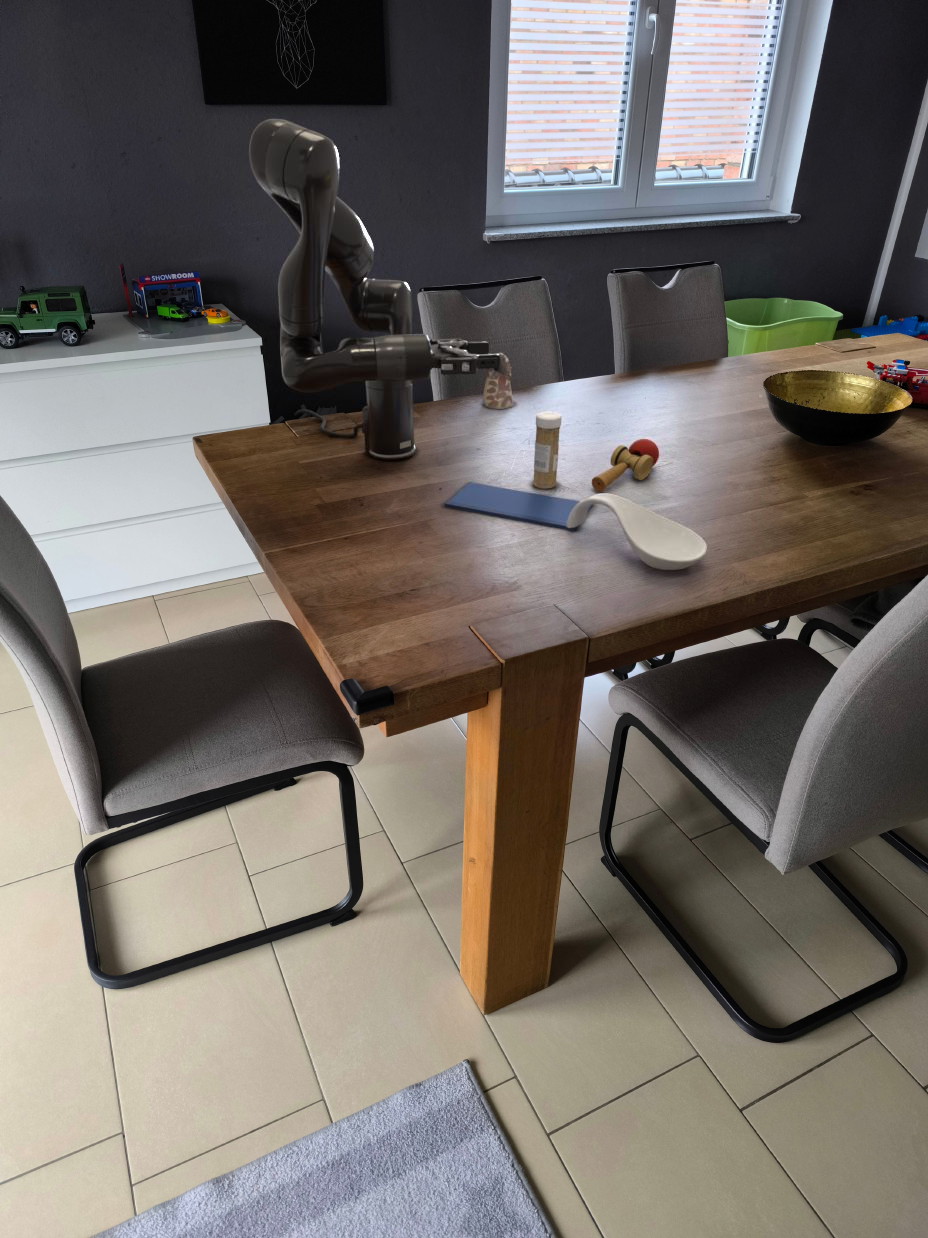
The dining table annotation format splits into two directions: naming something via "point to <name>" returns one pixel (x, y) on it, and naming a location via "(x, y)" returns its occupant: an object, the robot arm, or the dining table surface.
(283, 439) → the dining table surface
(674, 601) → the dining table surface
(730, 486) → the dining table surface
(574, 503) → the blue flat rectangular slab
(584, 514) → the spoon rest
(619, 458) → the kendama
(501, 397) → the figurine
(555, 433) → the spice jar
